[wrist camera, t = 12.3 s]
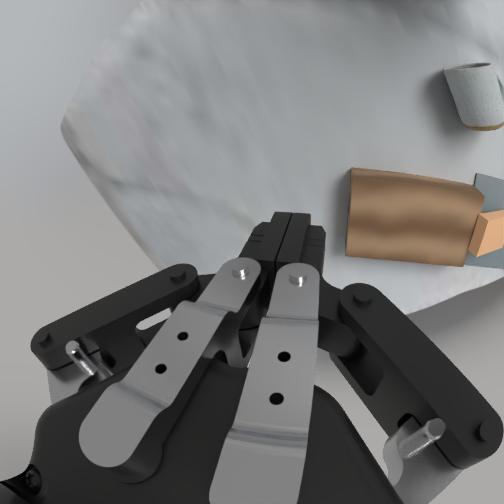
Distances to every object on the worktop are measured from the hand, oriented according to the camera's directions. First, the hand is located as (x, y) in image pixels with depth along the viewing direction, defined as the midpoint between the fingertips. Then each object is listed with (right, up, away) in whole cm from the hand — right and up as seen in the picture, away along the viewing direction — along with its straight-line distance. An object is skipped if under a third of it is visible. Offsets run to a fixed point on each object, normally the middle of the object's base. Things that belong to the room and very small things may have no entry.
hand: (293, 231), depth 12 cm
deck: (+22, +5, +23) cm, 32 cm away
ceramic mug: (+28, +21, +10) cm, 36 cm away
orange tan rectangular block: (+34, +3, +18) cm, 39 cm away
